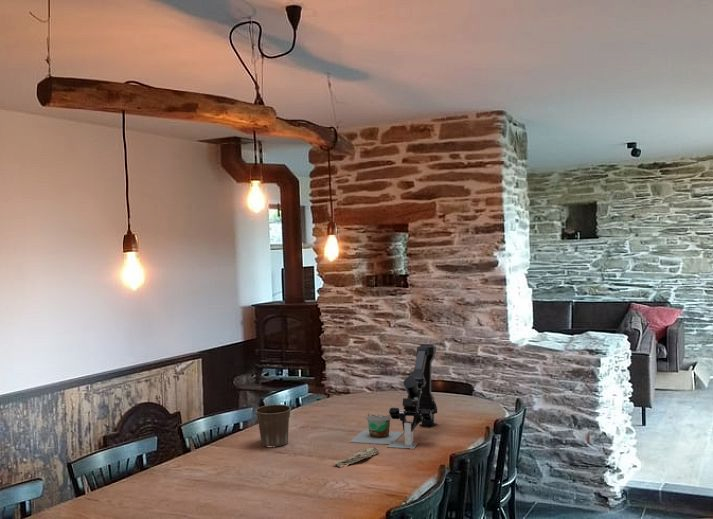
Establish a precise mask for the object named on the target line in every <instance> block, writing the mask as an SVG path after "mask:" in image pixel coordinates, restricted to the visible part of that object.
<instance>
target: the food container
mask: <svg viewBox="0 0 713 519" xmlns="http://www.w3.org/2000/svg"><path fill="white" fill-rule="evenodd" d="M365 419H366V421H367V425H368V430H369V434H370V437H373V438H385V437H388V436H389V431H390V424H391V420H392V418H391V416H390V414H389V415H381V414H369V412H367V414H366V417H365Z"/></svg>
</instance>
